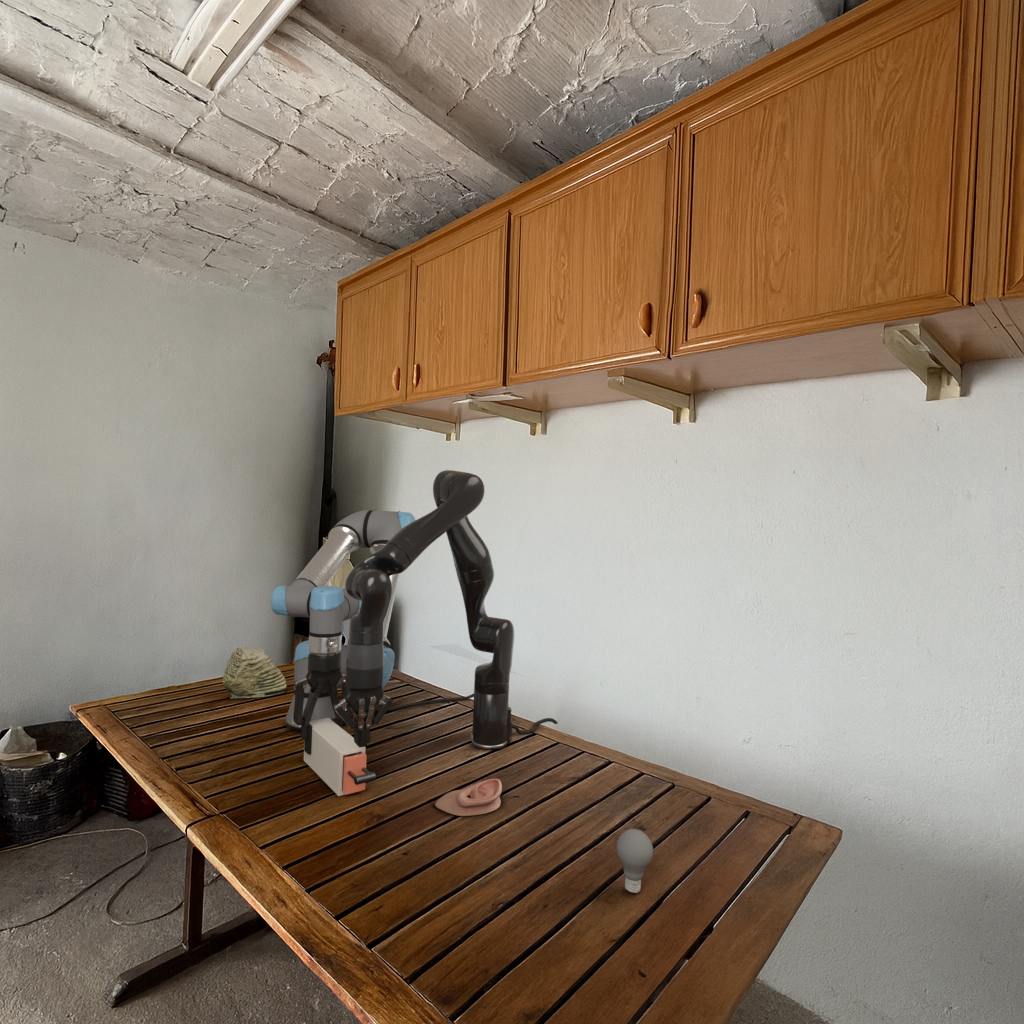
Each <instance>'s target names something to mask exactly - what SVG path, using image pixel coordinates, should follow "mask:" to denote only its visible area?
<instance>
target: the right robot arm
mask: <svg viewBox="0 0 1024 1024" xmlns="http://www.w3.org/2000/svg"><path fill="white" fill-rule="evenodd" d="M485 491H486V490H485V484H484V481H483V479H481V477H480V476H479V475H476V474H474V473H471V472H466V471H465V472H464V471H458V470H451V469H450V470H449V469H446V470H445V469H444V470H441V471H440V472H438V473H437V474H436V476H435V478H434V480H433V486H432V494H433V499H434V502H435V506H436V508H435V509H433V510H432V511H430V512H429V513H427V514H425V515H423V516H421V517H419V518H418V519H416V520H415V521H413V522H411V523H410V524H408V525H406V526H405V527H403V528H402V529H401V530H400V531H398V532H397V533H396V534H395V535H394V536H393V537H392V538H391V539H390V540H389V541H388V542H387V543H386V544H385V545H384V546H383V548H382V549H380V550H379V551H377V552H376V553H374V554H372V553H371V554H370V555H369V556H368V557H366V558H364V559H363V560H362V561H360V562H359V563H357V564H356V565H355V566H354V567H353V568H352V569H351V570H350V572H349V573H348V575H347V577H346V579H345V583H344V588H345V589H346V592H347V593H348V595H349V596H351V597H352V598H354V599H357V600H361V601H362V603H361V608H360V612H359V613H356V614H354V615H353V616H352V617H351V619H349V630H348V631H349V632H348V640H349V645H348V651H347V659H346V663H347V668H346V691H345V693H344V696H343V698H344V699H343V700H342V699H341V701H340V703H339V704H334V705H333V709H334V710H335V711H336V713H337V714H338V715H339V716H340V717H341V719H342V720H343V723H344V724H345V725H346V726H347V727H349V728H350V729H351V730H354V731H353V738H354V742H355V744H357V746H358V747H367V746H368V744H369V743H370V737H371V728H372V726H374V725H378V724H379V723H380V722H381V720H382V719H383V717H384V716H385V714H386V713H387V712H388V711H387V710H388V708H391V705H392V704H393V701H394V700H393V698H391V697H389V696H388V695H386V694H384V693H385V691H384V688H382V684H383V663H384V648H383V635H384V620H385V618H386V615H387V611H388V608H389V604H390V600H391V596H392V583H391V579H390V577H389V576H391V575H394V574H399V575H400V574H402V573H404V572H405V571H406V570H407V569H409V568H410V566H411V565H412V564H413V563H414V562H416V561H417V559H418V558H419V557H420V556H421V555H422V553H423V552H425V550H426V549H428V547H429V546H431V545H432V544H433V543H434V542H436V541H437V539H439V538H440V537H441V536H443V535H444V534H446V536H447V540H448V541H447V542H448V545H449V548H450V551H451V556H452V559H453V563H454V564H453V565H454V568H455V572H456V576H457V580H458V583H459V587H460V590H461V595H462V600H463V604H464V608H465V609H464V611H465V616H466V623H467V630H468V637H469V641H470V643H471V646H472V647H473V649H475V650H476V651H478V652H482V653H489V654H493V655H492V660H491V661H490V662H486V663H481V664H479V665H477V666H476V667H475V669H474V683H473V694H474V697H473V704H472V705H473V706H472V707H473V708H472V731H471V732H470V737H471V745H472V746H473V747H476V748H478V749H481V750H489V751H491V750H493V751H494V750H500V749H503V748H505V747H507V746H508V745H510V744H511V734H513V729H514V730H515V732H516V733H517V734H519V735H528V734H531V733H534V732H536V731H537V730H538V726H539V725H542V724H544V723H549V722H550V723H553V724H554V725H558V724H559V722H558V721H557V720H556V719H554V718H553V717H545V718H542V719H539V720H537V721H535V722H534V723H533V725H532V727H531V728H529V729H520V728H519V726H518V725H516V724H513V722H512V707H510V706H509V704H510V703H509V700H510V679H511V671H512V668H513V667H512V666H513V656H514V655H513V654H514V645H515V627H514V624H513V622H512V621H511V620H509V619H506V618H500V617H493V616H489V615H488V614H487V611H486V607H485V600H486V598H487V595H488V593H489V592H490V589H491V588H492V585H493V582H494V580H495V570H494V565H493V561H492V556H491V553H490V550H489V548H488V546H487V544H486V543H485V541H484V539H482V537H481V536H480V534H479V533H478V531H477V530H476V529H475V528H474V526H473V524H472V523H471V521H470V519H469V517H468V516H469V515H470V514H471V513H473V512H474V511H475V510H476V509H478V507H479V506H480V505H481V503H483V500H484V497H485ZM347 705H348V706H349V707H350V709H351V710H352V713H351V714H352V717H351V715H350V716H349V715H348V714H347V713H346V711H347ZM352 718H353V719H352Z"/></svg>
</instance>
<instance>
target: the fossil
mask: <svg viewBox="0 0 1024 1024" xmlns="http://www.w3.org/2000/svg"><path fill="white" fill-rule="evenodd" d="M222 676H223V677H222V685H223V687H224V688H225V690H226V691H228V693H229V698H230V699H250V698H264V697H271V696H275V695H281V694H284V693H285V691H286V689H287V687H288V686H287V680H286V678H285V676H284V674H283V673H282V672H281V669H279V668H278V667H277V665H276V663H275V662H274V660H273V659H272V658H271V657H270V656H269V655H268V654H267V653H266V652H265V650H264V649H263V648H260V647H258V648H251V647H247V646H246V647H245V646H238V647H237V648H236V649H235V650H233V651H232V653H231V656H230V657H229V659H228V660H227V663H226V666H225V668H224V671H223V675H222Z"/></svg>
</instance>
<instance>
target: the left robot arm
mask: <svg viewBox="0 0 1024 1024" xmlns="http://www.w3.org/2000/svg"><path fill="white" fill-rule="evenodd" d="M415 520H417V519H416V517H415V515H414V514H413V513H411V512H406V511H401V510H398V511H392V510H391V511H390V510H372V509H364V510H359V511H356V512H354V513H351V514H349V515H348V516H346V517H344V518H342V519H340V520H339V521H338V522H337V523H336V524H335V525H333V527H332V528H331V530H329V532H328V535H327V540H326V541H325V543H324V544H323V545H322V546H321V547H320V548H319V550H318V551H317V552H316V553H315V555H314V556H313V557H312V558H311V560H310V561H309V562H308V563H307V565H305V567H304V568H303V569H302V571H301V572H300V573H299V575H298V576H297V577H296V578H295V579H294V580H293V582H292V583H291V584H290V585H288V584H287V585H285V584H284V585H278V586H276V587H275V588H274V590H273V591H272V593H271V596H270V606H271V610H272V612H273V613H274V614H275V615H278V616H284V617H288V618H289V617H290V618H291V617H295V618H309V630H308V631H309V632H308V639H307V640H304V641H302V642H299V643H298V644H297V645H296V647H295V652H294V653H295V654H294V659H293V661H294V672H293V695H292V696H293V697H292V699H291V702H290V704H289V708H288V711H287V713H286V715H285V726H286V728H287V729H289V730H291V731H294V732H295V731H296V732H300V738H301V740H303V741H304V740H305V741H304V742H303V752H304V751H305V752H306V753H307V754H311V749H312V725H310V724H309V723H310V721H313V720H319V719H324V718H329V719H331V720H332V721H333V722H334V723H336V724H337V725H338V726H339V727H341V728H342V729H343V725H344V721H343V720H342V719H341V717H340V716H339V715H338V714H337V713H336V711H335V710H334V709H333V705H334V704H339V703H340V702H341V701H342V700H343V699H344V698H343V696H344V693H345V691H346V668H347V663H346V659H347V651H348V645H349V639H348V641H347V644H343V622H345V621H348V620H351V617H352V616H353V615H354V614H356V613H359V612H360V608H361V603H362V601H361V600H357V599H354V598H352V597H351V596H349V595H348V593H347V592H346V589H345V587H344V588H342V587H340V586H336V585H328V584H329V583H330V581H332V579H333V577H334V576H335V575H336V573H337V572H338V571H339V570H340V568H341V567H342V565H343V564H344V563H345V561H346V560H347V558H348V557H349V556H350V555H352V554H354V553H355V552H356V551H358V550H359V549H366V548H367V549H369V552H370V553H371V555H372V554H374V553H376V552H377V551H379V550H380V549H382V548H383V546H384V545H385V544H386V543H387V542H388V541H389V540H390V539H391V538H392V537H393V536H394V535H395V534H396V533H397V532H398V531H400V530H401V529H402V528H403V527H405V526H406V525H408V524H410V523H411V522H413V521H415ZM389 577H390V579H391V583H392V596H391V600H390V604H389V608H388V611H387V615H386V618H385V620H384V635H383V648H384V663H383V684H382V689H384V688H385V686H386V685H387V684H388V683H389V681H390V678H391V677H392V674H393V671H394V666H395V657H396V656H395V652H394V650H393V649H392V648H391V643H390V641H389V639H388V638H387V636H388V631H389V627H390V621H391V616H392V612H393V607H394V602H395V598H396V593H397V587H398V583H399V578H400V574H394V575H391V576H389ZM338 689H341V701H340V698H339V695H338V694H339V693H338V692H339V691H338ZM472 698H474V693H472V694H469V695H467V696H459V697H447V698H446V697H445V698H437V699H427V700H421V701H416V702H411V703H405V704H402V705H397V706H390V707H389V708H388V710H387V711H386V712H390V711H395V710H401V709H404V708H410V707H414V706H420V705H427V704H434V703H443V702H452V701H453V702H454V701H464V700H470V699H472ZM346 713H347V714H348V715H349V716H350V717H351V714H352V710H351V709H350V707H349V706H348V705H347V711H346Z"/></svg>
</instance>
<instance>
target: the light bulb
mask: <svg viewBox="0 0 1024 1024" xmlns="http://www.w3.org/2000/svg"><path fill="white" fill-rule="evenodd" d="M615 849H616V854H617V857H618V859H619V861H620V863H621V865H622V867H623V873H624V874H623V875H624V876H625V878H624V888H625V890H627V891H628V892H630V893H634V894H635V893H639V892H640V891H641V889H642V887H641V886H642V879H643V877H644V875H645V871H646V868H647V867H648V866H649V864H650V863H651V861H652V859H653V855H654V847H653V843H652V841H651V838H649V836H648V835H647V834H646V833H645V832H643V831H642V830H641V829H636V828H629V829H627V830H625V831H623V832H622V833H621V834H620V835H619V837H618V839H617V841H616V847H615Z"/></svg>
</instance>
